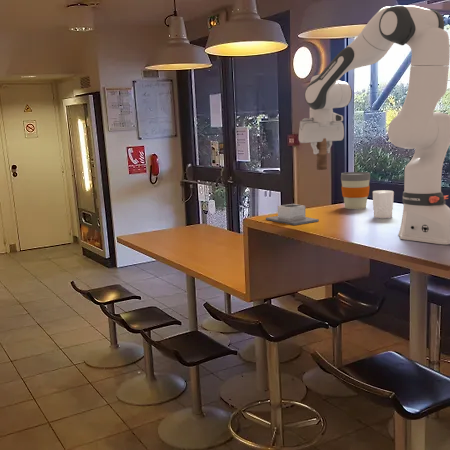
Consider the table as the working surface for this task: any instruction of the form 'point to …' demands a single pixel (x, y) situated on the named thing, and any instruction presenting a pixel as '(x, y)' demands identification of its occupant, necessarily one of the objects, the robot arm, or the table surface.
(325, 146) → the walnut rail post
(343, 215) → the table surface
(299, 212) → the cup bracket
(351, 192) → the reusable coffee cup
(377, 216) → the white cup
